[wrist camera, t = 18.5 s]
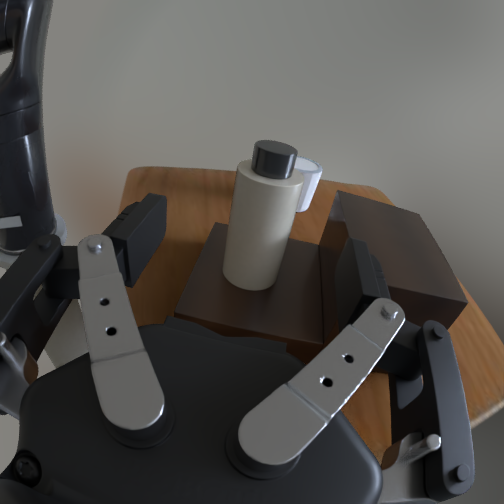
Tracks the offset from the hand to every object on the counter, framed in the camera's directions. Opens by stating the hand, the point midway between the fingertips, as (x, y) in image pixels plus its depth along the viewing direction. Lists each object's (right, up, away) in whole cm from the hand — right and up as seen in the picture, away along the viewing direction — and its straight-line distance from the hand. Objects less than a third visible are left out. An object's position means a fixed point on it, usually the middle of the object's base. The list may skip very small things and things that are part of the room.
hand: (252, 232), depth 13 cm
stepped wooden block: (+5, -6, +17) cm, 19 cm away
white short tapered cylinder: (+6, +7, +35) cm, 36 cm away
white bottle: (0, -3, +15) cm, 16 cm away
